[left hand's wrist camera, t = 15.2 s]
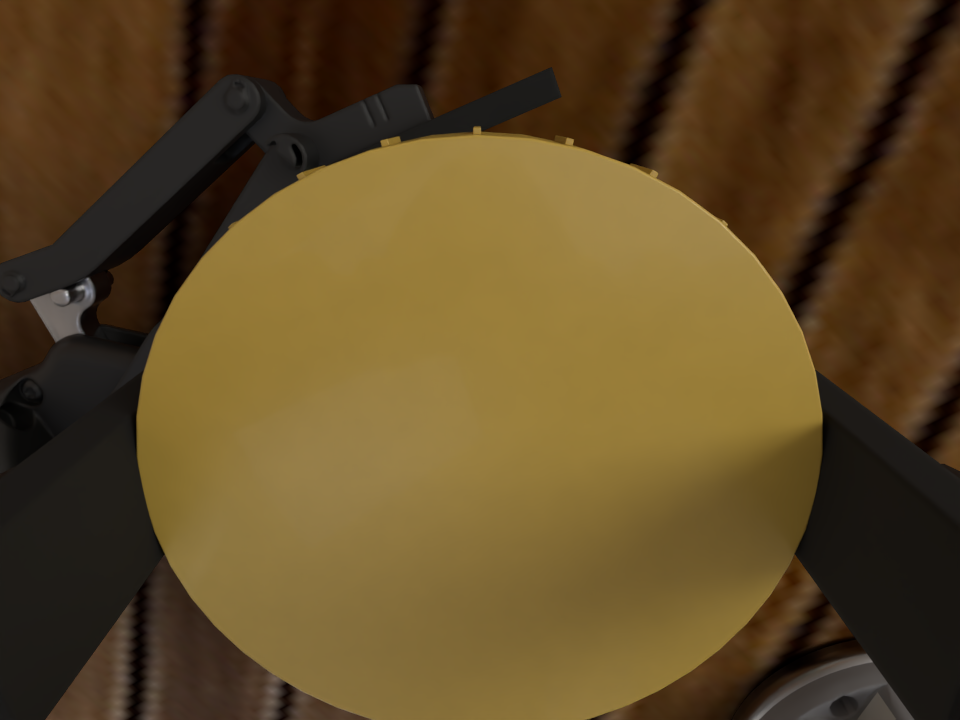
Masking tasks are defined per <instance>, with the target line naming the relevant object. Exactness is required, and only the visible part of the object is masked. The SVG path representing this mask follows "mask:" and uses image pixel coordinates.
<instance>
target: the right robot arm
mask: <svg viewBox="0 0 960 720" xmlns="http://www.w3.org/2000/svg"><path fill="white" fill-rule="evenodd" d="M560 97H561V94H560V91H559V88H558V85H557V82H556V79H555V75H554V72H553V69H552V67H551V68H548V69H546V70H544V71H542V72H539V73H537V74H535V75H532V76H530V77H528V78H526V79H523V80H521V81H519V82H516V83H514V84H512V85H510V86H507V87H505V88H503V89H500V90H498V91H496V92H494V93H491V94H489V95H487V96H484V97H482V98H480V99H478V100H475V101H473V102H471V103H468V104H466V105H464V106H462V107H459V108H457V109H455V110H453V111H450V112H448V113H446V114H443V115H441V116H439V117H437V118H434V116H433V114H432V111H431V109H430V106H429V104H428V102H427V99H426V97H425V94H424V92H423V89H422V87H421V86H419V85H395V86H393V87H391V88H388V89H386V90H384V91H382V92H379V93H378V94H375V95H373V96H371V97H368V98H366V99H364V100H362V101H359V102H357V103H355V104H353V105H351V106H348V107H346V108H344V109H342V110H339V111H337V112H335V113H333V114H331V115H328V116H326V117H324V118H322V119H319V120H316V121H313V120H310V119H308V118H306V117H304V116H303V115H302V114H301V113H300V112H299V111H298V110H297V109H296V108H295V107H294V106H293V105H292V104H291V103H290V102H289V101H288V100H287V99H286V96H285V94H284V92H283V91H282V89H281V88H280V87H279V86H278V85H277V84H276V83H275V82H272V81H269V80H265V79H260V78H254V77H248V76H243V75H237V74H235V75H227V76H225V77H224V78H222V79H220V80H219V81H218V82H217V83H216V84H215V85H214V86H213V87H212V88H211V89H210V90H209V91H208V92H207V93H206V94H205V95H204V96H203V97H202V98H201V99H200V100H199V101H198V102H197V103H196V104H195V105H194V106H193V107H192V108H191V109H190V110H189V111H188V112H187V113H186V114H185V115H184V116H183V117H182V118H181V119H180V120H179V121H178V122H177V123H176V124H175V125H174V126H173V127H172V128H171V129H170V130H168V131H167V132H166V133H165V134H164V135H163V136H162V137H161V138H160V139H159V140H158V141H157V142H156V143H155V144H154V145H153V146H152V147H151V148H150V149H149V150H148V151H147V152H146V153H145V154H144V155H143V156H142V157H141V158H140V159H139V160H138V161H137V162H136V163H135V164H134V165H133V166H132V167H131V168H130V169H129V170H128V171H127V172H126V173H125V174H124V175H123V176H122V177H121V178H120V179H119V180H118V181H117V182H116V183H115V184H114V185H113V186H112V187H111V188H110V189H109V190H108V191H107V192H106V193H105V194H103V195H102V196H101V197H100V198H99V199H98V200H97V201H96V202H95V203H94V204H93V205H92V206H91V207H90V208H89V209H88V210H87V211H86V212H85V213H84V214H83V215H82V216H81V217H80V218H79V219H78V220H77V221H76V222H75V223H74V224H73V225H72V226H71V227H70V228H69V229H68V230H67V231H66V232H65V233H64V234H63V235H62V236H61V237H60V238H59V239H58V240H57V241H56V242H55V243H54V244H53V245H50V246H48V247H45V248H42V249H39V250H36V251H34V252H31V253H28V254H25V255H23V256H20V257H17V258H14V259H12V260H9V261H6V262H3V263H1V264H0V294H1V296H3V297H4V298H6V299H8V300H9V301H13V302H17V303H19V302H26V301H29V300H30V301H31V303H32V304H33V306H34V308H35V309H36V311H37V313H38V314H39V316H40V318H41V319H42V321H43V322H44V324H45V326H46V327H47V329H48V331H49V332H50V334H51V335H52V337H53V339H54V340H55V342H56V343H55V344H54V345H53V346H52V347H51V349H50V350H49V352H48V354H47V356H46V357H45V359H44V360H43V361H42V362H41V363H40V364H37V365H35V366H33V367H30V368H28V369H26V370H23V371H21V372H18V373H16V374H14V375H11V376H9V377H6V378H4V379H2V380H0V474H1V473H3V472H5V471H7V470H9V469H11V468H13V467H15V466H17V465H18V464H20V463H21V462H22V461H24V460H25V459H26V458H28V457H29V456H30V455H32V454H33V453H34V452H36V451H37V450H38V449H40V448H41V447H42V446H44V445H45V444H46V443H48V442H49V441H50V440H52V439H53V438H54V437H55V436H57V435H58V434H59V433H61V432H62V431H63V430H65V429H66V428H67V427H69V426H70V425H71V424H73V423H74V422H75V421H77V420H78V419H79V418H81V417H82V416H83V415H85V414H86V413H87V412H89V411H90V410H91V409H93V408H94V407H95V406H97V405H98V404H99V403H101V402H102V401H103V400H105V399H106V398H107V397H109V396H110V395H111V394H113V393H114V392H115V391H117V390H118V389H119V388H121V387H122V386H123V385H125V384H126V383H127V382H129V381H130V380H131V379H132V378H134V377H135V376H136V375H138V374H139V373H140V372H142V371H143V370H144V369H145V366H146V362H147V359H148V356H149V353H150V350H151V346H152V343H153V340H154V337H155V334H156V332H157V330H158V328H159V326H160V324H161V322H162V320H163V318H164V317H163V318H162V319H161V320H160V321H159V322H158V323H157V324H156V325H155V327H154V328H153V329H152V330H151V331H150V333H149V334H147V333H142V332H138V331H133V330H129V329H124V328H120V327H115V326H111V325H106V324H99V322H98V319H97V315H96V311H97V307H98V305H99V304H100V303H101V302H102V301H103V300H105V299H106V298H107V297H108V296H109V294H110V292H111V285H112V284H113V281H114V278H113V276H112V274H111V273H110V272H109V271H108V270H109V269H111V268H114V267H116V266H118V265H120V264H122V263H123V262H125V261H127V260H128V259H130V258H131V257H133V256H134V255H135V254H136V253H138V252H139V251H140V250H141V249H142V248H143V247H144V246H145V245H146V244H148V243H149V242H150V241H151V240H152V239H153V238H154V237H155V236H156V235H157V234H158V233H159V232H160V231H161V230H163V229H164V228H165V227H166V226H167V225H168V224H169V223H170V222H171V221H172V220H173V219H174V218H175V217H176V216H178V215H179V214H180V213H181V212H182V211H183V210H184V209H185V208H186V207H187V206H188V205H189V204H190V203H191V202H193V201H194V200H195V199H196V198H197V197H198V196H199V195H200V194H201V193H202V192H203V191H204V190H205V189H206V188H208V187H209V186H210V185H211V184H212V183H213V182H214V181H215V180H216V179H217V178H218V177H219V176H220V175H221V174H222V173H224V172H225V171H226V170H227V169H228V168H229V167H230V166H231V165H232V164H233V163H234V162H235V161H236V160H237V159H239V158H240V157H241V156H242V155H243V154H244V153H245V152H246V151H247V150H248V149H249V148H250V147H251V146H252V145H254V144H255V143H256V144H257V145H258V146H259V147H260V148H261V149H262V150H263V151H264V152H265V153H266V154H265V155H264V157H263V158H262V160H261V162H260V163H259V165H258V166H257V168H256V170H255V171H254V173H253V175H252V176H251V178H250V179H249V181H248V183H247V184H246V186H245V187H244V189H243V191H242V192H241V194H240V195H239V197H238V199H237V200H236V202H235V203H234V205H233V207H232V208H231V210H230V212H229V213H228V215H227V216H226V218H225V220H224V221H223V223H222V224H221V226H220V228H219V229H218V231H217V232H216V234H215V236H214V237H213V239H212V241H211V242H210V244H209V245H208V247H207V249H206V250H205V252H204V253H203V255H202V257H203V256H204V255H205V254H206V253H207V252H208V251H209V250H210V248H211V247H212V246H213V245H214V244H215V243H216V242H217V241H218V240H219V239H220V238H221V237H222V236H223V235H224V234H225V233H226V232H227V231H228V230H229V228H228V227H229V226H230V225H231V224H232V223H234V222H236V221H239V220H240V219H241V218H243V217H244V216H245V215H247V214H248V213H249V212H251V211H252V210H253V209H255V208H256V207H257V206H259V205H260V204H261V203H263V202H264V201H265V200H267V199H268V198H269V197H270V196H272V195H273V194H274V193H276V192H278V191H280V190H282V189H284V188H285V187H287V186H289V185H291V184H293V183H295V182H296V181H298V180H299V179H298V178H297V175H298V174H300V173H301V172H304V171H307V170H311V169H314V168H317V167H321V166H324V165H325V166H328V165H331V164H334V163H336V162H339V161H342V160H344V159H347V158H350V157H352V156H355V155H358V154H361V153H363V152H366V151H369V150H372V149H375V148H379V147H382V145H381V142H380V141H381V140H385V139H389V138H393V137H398V136H399V137H400V140H401V142H403V141H407V140H412V139H417V138H421V137H426V136H430V135H439V134H452V133H466V132H473V127H474V126H481V131H483V130H486V129H488V128H490V127H493V126H495V125H497V124H500V123H502V122H504V121H507V120H509V119H511V118H514V117H516V116H518V115H520V114H523V113H525V112H527V111H530V110H532V109H534V108H537V107H539V106H541V105H544V104H546V103H548V102H551V101H553V100H555V99H558V98H560ZM202 257H201V258H202ZM201 258H200V259H201ZM198 262H199V261H198Z"/></svg>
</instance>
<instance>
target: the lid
mask: <svg viewBox="0 0 960 720" xmlns="http://www.w3.org/2000/svg"><path fill="white" fill-rule="evenodd" d="M573 141H574V140H573V139H570V138H566V137H561V136H557V135H556V136H555V139H554V141H552V140H547V139H542V138H537V137H532V136H528V135H523V134H507V133H492V132H481V126H474V127H473V132H466V133H452V134H439V135H430V136H426V137H421V138H417V139H412V140H407V141H403V142H401V140H400V137H399V136H398V137H393V138H389V139H385V140H381V141H380V142H381V145H382V147H379V148H375V149H372V150H369V151H366V152H363V153H361V154H358V155H355V156H352V157H350V158H347V159H344V160H342V161H339V162H336V163H334V164H331V165H328V166H325V165H324V166H321V167H317V168H314V169H311V170H307V171H304V172H301V173H300V174H298V175H297V178H298V179H299V180H298V181H296V182H295V183H293V184H291V185H289V186H287V187H285V188H284V189H282V190H280V191H278V192H276V193H274V194H273V195H272V196H270V197H269V198H268V199H267V200H265V201H264V202H263V203H261V204H260V205H259V206H257V207H256V208H255V209H253V210H252V211H251V212H249V213H248V214H247V215H245V216H244V217H243V218H241V219H240V220H239V221H236V222H234V223H232V224H231V225H230V226H229V227H228V228H229V230H228V231H227V232H226V233H225V234H224V235H223V236H222V237H221V238H220V239H219V240H218V241H217V242H216V243H215V244H214V245H213V246H212V247H211V248H210V250H209V251H208V252H207V253H206V254H205V255H204V256H203V257H202V258H201V259H200V260H199V262H198V263H197V265H196V266H195V268H194V269H193V270H192V272H191V273H190V275H189V276H188V277H187V279H186V280H185V282H184V283H183V284H182V286H181V287H180V289H179V290H178V291H177V293H176V294H175V296H174V298H173V300H172V302H171V304H170V306H169V308H168V310H167V312H166V314H165V316H164V318H163V320H162V322H161V324H160V326H159V328H158V330H157V332H156V334H155V337H154V340H153V343H152V346H151V350H150V353H149V356H148V359H147V362H146V366H145V369H144V372H143V375H142V381H141V388H140V395H139V402H138V409H137V415H136V446H137V462H138V467H139V472H140V477H141V481H142V486H143V491H144V495H145V500H146V504H147V508H148V512H149V516H150V520H151V523H152V526H153V530H154V532H155V535H156V537H157V539H158V541H159V543H160V545H161V547H162V549H163V551H164V554H165V556H166V558H167V560H168V562H169V564H170V566H171V568H172V569H173V571H174V572H175V574H176V575H177V577H178V579H179V580H180V582H181V583H182V585H183V586H184V588H185V589H186V591H187V592H188V594H189V595H190V597H191V598H192V600H193V601H194V602H195V603H196V604H197V605H198V607H199V608H200V609H201V610H202V611H203V613H204V614H205V615H206V616H207V617H208V619H209V620H210V621H211V622H212V623H213V624H214V626H215V627H216V628H217V629H219V630H220V631H221V632H222V633H223V634H224V635H225V636H226V637H227V638H228V639H229V640H230V641H231V642H232V643H234V644H235V645H236V646H237V647H238V648H239V649H240V650H241V651H242V652H243V653H245V654H246V655H248V656H249V657H250V658H252V659H253V660H254V661H256V662H257V663H258V664H260V665H261V666H262V667H264V668H265V669H266V670H268V671H269V672H270V673H272V674H273V675H275V676H277V677H279V678H280V679H282V680H284V681H285V682H287V683H289V684H290V685H292V686H294V687H296V688H297V689H299V690H301V691H302V692H304V693H306V694H309V695H311V696H313V697H315V698H317V699H320V700H322V701H324V702H326V703H328V704H330V705H333V706H335V707H337V708H340V709H343V710H346V711H349V712H352V713H355V714H358V715H361V716H363V717H366V718H369V719H372V720H587V719H591V718H593V717H596V716H599V715H602V714H605V713H608V712H611V711H613V710H616V709H619V708H622V707H625V706H627V705H629V704H631V703H633V702H636V701H638V700H640V699H642V698H644V697H646V696H648V695H651V694H653V693H655V692H657V691H659V690H661V689H662V688H664V687H666V686H667V685H669V684H671V683H672V682H674V681H676V680H677V679H679V678H681V677H682V676H684V675H686V674H687V673H689V672H691V671H692V670H693V669H695V668H696V667H697V666H699V665H700V664H701V663H702V662H704V661H705V660H706V659H708V658H709V657H710V656H712V655H713V654H714V653H716V652H717V651H718V650H720V649H721V648H722V647H723V646H724V645H725V644H726V643H727V642H728V641H729V640H730V639H731V638H732V637H733V636H734V635H735V634H736V633H737V632H738V631H740V630H741V629H742V628H743V627H744V626H745V625H746V624H747V623H748V621H749V620H750V619H751V618H752V617H753V615H754V614H755V613H756V612H757V611H758V609H759V608H760V607H761V606H762V604H763V603H764V602H765V601H766V600H767V598H768V597H769V596H770V595H771V593H772V591H773V590H774V588H775V587H776V585H777V584H778V582H779V580H780V579H781V577H782V576H783V574H784V572H785V571H786V569H787V568H788V566H789V565H790V563H791V561H792V558H793V556H794V554H795V552H796V550H797V548H798V545H799V543H800V541H801V539H802V537H803V534H804V532H805V530H806V527H807V524H808V521H809V517H810V514H811V510H812V506H813V502H814V498H815V494H816V489H817V484H818V479H819V475H820V468H821V461H822V455H823V432H822V408H821V402H820V396H819V390H818V384H817V378H816V372H815V369H814V366H813V363H812V360H811V356H810V353H809V350H808V347H807V344H806V341H805V338H804V335H803V332H802V330H801V328H800V326H799V324H798V322H797V320H796V318H795V316H794V314H793V313H792V311H791V309H790V307H789V305H788V303H787V301H786V299H785V297H784V295H783V293H782V291H781V290H780V289H779V287H778V286H777V285H776V283H775V282H774V281H773V279H772V278H771V276H770V275H769V274H768V272H767V271H766V270H765V268H764V267H763V266H762V264H761V263H760V261H759V260H758V259H757V257H756V256H755V255H754V254H753V253H752V252H751V251H750V250H749V249H748V248H747V247H746V246H745V245H744V244H743V243H742V242H741V241H740V240H739V239H738V238H737V237H736V236H735V235H734V234H733V233H732V232H731V231H730V230H729V229H728V228H727V227H726V226H727V225H728V224H727V223H726V222H725V221H724V220H721V219H719V218H717V217H715V216H713V215H712V214H711V213H709V212H708V211H707V210H705V209H704V208H703V207H701V206H700V205H698V204H697V203H696V202H694V201H693V200H692V199H690V198H689V197H688V196H686V195H685V194H684V193H682V192H681V191H679V190H677V189H675V188H673V187H672V186H670V185H668V184H666V183H664V182H662V181H660V180H658V179H657V178H656V177H657V175H658V173H657V172H655V171H654V170H651V169H648V168H644V167H641V166H638V165H634V164H630V165H628V164H625V163H622V162H620V161H617V160H614V159H611V158H608V157H606V156H603V155H600V154H597V153H595V152H592V151H589V150H586V149H583V148H580V147H576V146H573Z"/></svg>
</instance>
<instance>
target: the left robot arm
mask: <svg viewBox="0 0 960 720" xmlns="http://www.w3.org/2000/svg"><path fill="white" fill-rule="evenodd" d="M143 372H144V370H143V371H142V372H140V373H139V374H138V375H136V376H135V377H134V378H132V379H131V380H130V381H129V382H127V383H126V384H125V385H123V386H122V387H121V388H119V389H118V390H117V391H115V392H114V393H113V394H111V395H110V396H109V397H107V398H106V399H105V400H103V401H102V402H101V403H99V404H98V405H97V406H95V407H94V408H93V409H91V410H90V411H89V412H87V413H86V414H85V415H83V416H82V417H81V418H79V419H78V420H77V421H75V422H74V423H73V424H71V425H70V426H69V427H67V428H66V429H65V430H63V431H62V432H61V433H59V434H58V435H57V436H55V437H54V438H53V439H52V440H50V441H49V442H48V443H46V444H45V445H44V446H42V447H41V448H40V449H38V450H37V451H36V452H34V453H33V454H32V455H30V456H29V457H28V458H26V459H25V460H24V461H22V462H21V463H20V464H18V465H17V466H15V467H13V468H11V469H9V470H7V471H5V472H3V473H1V474H0V720H45V719H46V718H47V716H48V715H49V714H50V712H51V711H52V709H53V708H54V707H55V705H56V704H57V703H58V701H59V700H60V698H61V697H62V696H63V694H64V693H65V691H66V690H67V689H68V687H69V686H70V684H71V683H72V682H73V680H74V679H75V678H76V676H77V675H78V673H79V672H80V671H81V669H82V668H83V666H84V665H85V664H86V662H87V661H88V660H89V658H90V657H91V655H92V654H93V653H94V651H95V650H96V648H97V647H98V646H99V644H100V643H101V641H102V640H103V639H104V637H105V636H106V635H107V633H108V632H109V630H110V629H111V628H112V626H113V625H114V623H115V622H116V621H117V619H118V618H119V616H120V615H121V614H122V612H123V611H124V610H125V608H126V607H127V605H128V604H129V603H130V601H131V600H132V598H133V597H134V596H135V594H136V593H137V592H138V590H139V589H140V587H141V586H142V585H143V583H144V582H145V580H146V579H147V578H148V576H149V575H150V573H151V572H152V571H153V569H154V568H155V567H156V565H157V564H158V562H159V561H160V560H161V558H162V557H163V555H164V551H163V549H162V547H161V545H160V543H159V541H158V539H157V537H156V535H155V532H154V530H153V526H152V523H151V520H150V516H149V512H148V508H147V504H146V500H145V495H144V491H143V486H142V481H141V477H140V472H139V467H138V462H137V446H136V415H137V409H138V402H139V395H140V388H141V381H142V375H143ZM815 372H816V378H817V384H818V390H819V396H820V402H821V408H822V432H823V455H822V461H821V468H820V475H819V479H818V484H817V489H816V494H815V498H814V502H813V506H812V510H811V514H810V517H809V521H808V524H807V527H806V530H805V532H804V534H803V537H802V539H801V541H800V543H799V545H798V548H797V550H796V552H795V555H796V556H797V558H798V559H799V560H800V562H801V563H802V565H803V566H804V567H805V569H806V570H807V571H808V573H809V574H810V576H811V577H812V578H813V580H814V581H815V583H816V584H817V585H818V587H819V588H820V590H821V591H822V592H823V594H824V595H825V596H826V598H827V599H828V601H829V602H830V603H831V605H832V606H833V608H834V609H835V610H836V612H837V613H838V615H839V616H840V617H841V619H842V620H843V621H844V623H845V624H846V626H847V627H848V628H849V630H850V631H851V633H852V634H853V635H854V637H855V638H856V639H857V640H852V641H847V642H843V643H839V644H835V645H832V646H829V647H825V648H823V649H820V650H817V651H815V652H812V653H810V654H808V655H805V656H803V657H801V658H799V659H797V660H795V661H793V662H791V663H790V664H788V665H786V666H784V667H783V668H781V669H780V670H778V671H777V672H775V673H774V674H772V675H771V676H770V677H768V678H767V679H766V680H764V681H763V682H762V683H761V684H760V685H759V686H758V687H757V688H755V689H754V690H753V691H752V692H751V693H750V695H749V696H748V697H747V698H746V699H745V700H744V701H743V703H742V704H741V705H740V707H739V708H738V710H737V711H736V713H735V714H734V716H733V718H732V720H960V471H958V470H956V469H954V468H952V467H950V466H947V465H945V464H940V463H938V462H937V461H936V460H934V459H933V458H932V457H930V456H929V455H928V454H926V453H925V452H924V451H922V450H921V449H920V448H918V447H917V446H916V445H914V444H913V443H912V442H911V441H909V440H908V439H907V438H905V437H904V436H903V435H901V434H900V433H899V432H897V431H896V430H895V429H893V428H892V427H891V426H889V425H888V424H887V423H885V422H884V421H883V420H881V419H880V418H879V417H877V416H876V415H875V414H873V413H872V412H871V411H869V410H868V409H867V408H865V407H864V406H863V405H861V404H860V403H859V402H857V401H856V400H855V399H853V398H852V397H851V396H849V395H848V394H847V393H846V392H844V391H843V390H842V389H840V388H839V387H838V386H836V385H835V384H834V383H832V382H831V381H830V380H828V379H827V378H826V377H824V376H823V375H822V374H820V373H819V372H818V371H816V370H815Z"/></svg>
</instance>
